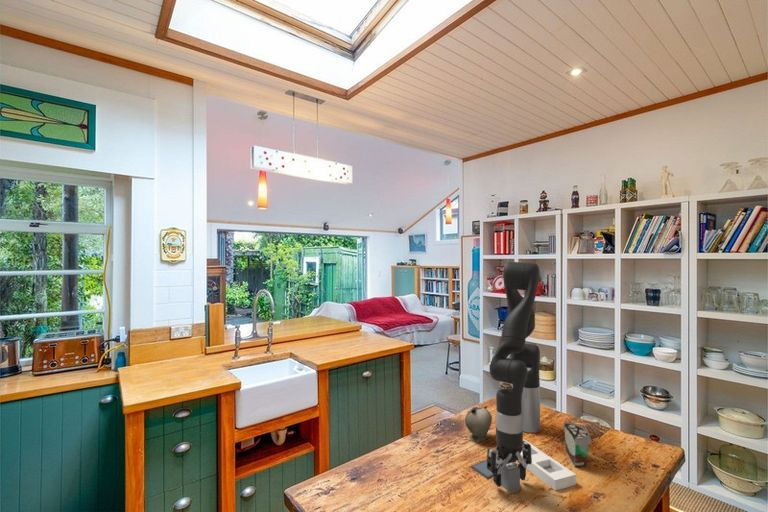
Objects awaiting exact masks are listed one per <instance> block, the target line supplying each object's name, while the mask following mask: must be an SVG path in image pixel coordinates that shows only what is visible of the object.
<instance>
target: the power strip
mask: <svg viewBox="0 0 768 512" xmlns="http://www.w3.org/2000/svg"><path fill="white" fill-rule="evenodd" d="M523 441H526V442H527V443H528V444H530V445H531V457H532V463H531V464H528V465H527V467H526V470H528V471H529V472H530V473H532V474H533V475H535V477H537V478H538V479H540V480H541V481H542V482H544V484H546V485H547V486H548V487H550V489H552V490H554V491H555V492H557V491H558V490H562V489H566V488H569V487H573V486H576V485H577V474H576V473H575V472H573V471H572V470H570V469H569V468H567V467H566V466H565V465H563V464H561V463H560V462H558V461H556V460H555V458H552V457H551V456H549V455H548V454H547V453H546V452H544V451H542V450H541V449H539V448H538V447H536V446H534V445H533V444H531V443H530V442H529V441H527V440H526V439H524V438H523ZM520 455H521V456H522V458H523V453H522V452H521V454H520ZM516 462H517V460H516Z"/></svg>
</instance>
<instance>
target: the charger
mask: <svg viewBox="0 0 768 512" xmlns="http://www.w3.org/2000/svg"><path fill="white" fill-rule="evenodd" d="M500 474H501V486H500V487H502V488H504V490H506V491H507V492H508V493H512V492H516V491H519V490H520V489H521V479H520V468H519V467H518V465H515V464H514V463H512V462H511V463H509V464H507V465H506V467H505V468H503V469H502V471H501V473H500Z"/></svg>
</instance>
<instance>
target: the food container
mask: <svg viewBox="0 0 768 512" xmlns="http://www.w3.org/2000/svg"><path fill="white" fill-rule="evenodd" d="M563 427H564V443H565V446H564V449H565V453H566V455H567V456H568V459H569V460H570V462H571V463H572V465H573V467H574V468H576V469H579V468H580V469H581V468H585V467H587V465H588V460H589V459H588V456H589V444H590V443H591V442H592V438H591V434H590V433H589V430H587V428H586V427H584V426H582V425H580V424H577V423H574V422H571V421H570V422H568V421H564V422H563Z"/></svg>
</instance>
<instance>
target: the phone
mask: <svg viewBox="0 0 768 512" xmlns="http://www.w3.org/2000/svg"><path fill="white" fill-rule="evenodd" d="M500 462H501V463H502V462H503V461H502V460H501V458H500ZM512 463H514V464H515V465H516V466H518V463H516V462H512ZM498 467H499V465H498ZM498 467H497V468H498ZM470 469H472V470H473V471H474V472H476V473H477V474H479V475H481V476H482V477H484V479H486V480H488V479H491V478H493V473H492V472H491V471H490V470H488V469H487V459H485V460H482V461H480V462H477V463H475V464H473V465H470Z"/></svg>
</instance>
